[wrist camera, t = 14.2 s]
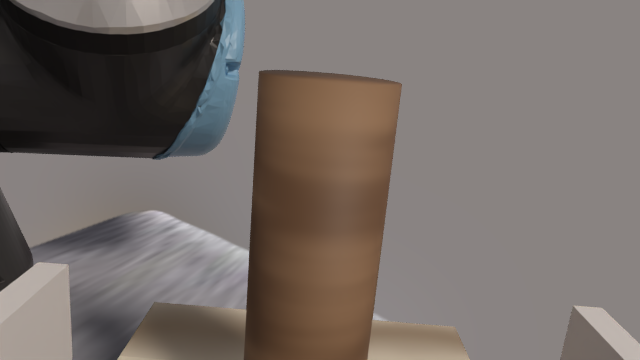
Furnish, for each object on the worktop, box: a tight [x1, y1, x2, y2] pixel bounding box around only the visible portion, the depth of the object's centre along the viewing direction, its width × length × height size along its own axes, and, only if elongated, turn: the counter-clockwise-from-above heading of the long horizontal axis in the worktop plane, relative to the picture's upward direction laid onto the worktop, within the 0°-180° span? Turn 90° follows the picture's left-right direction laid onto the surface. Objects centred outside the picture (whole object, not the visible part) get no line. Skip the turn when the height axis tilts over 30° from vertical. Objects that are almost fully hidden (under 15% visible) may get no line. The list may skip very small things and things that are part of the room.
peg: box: [244, 70, 402, 360], centre depth 18 cm, size 4×4×18 cm
